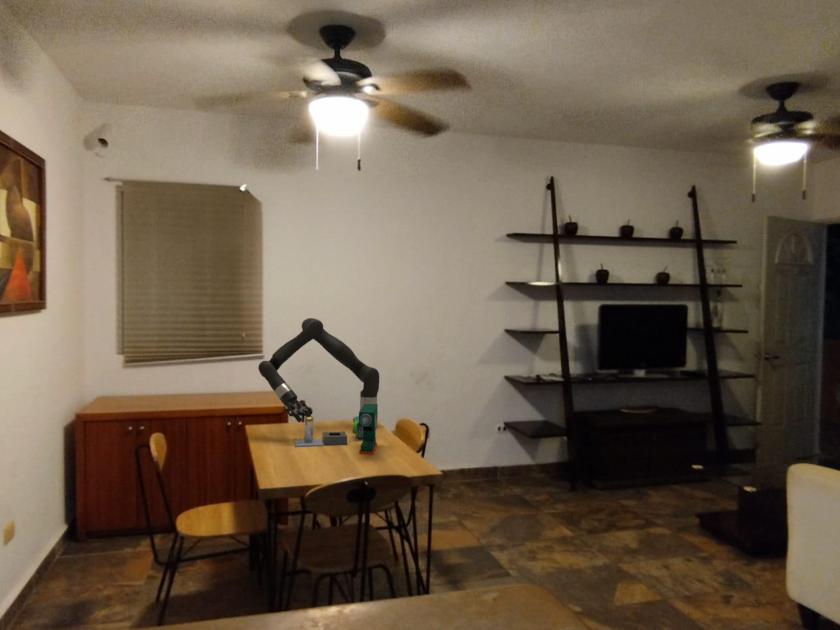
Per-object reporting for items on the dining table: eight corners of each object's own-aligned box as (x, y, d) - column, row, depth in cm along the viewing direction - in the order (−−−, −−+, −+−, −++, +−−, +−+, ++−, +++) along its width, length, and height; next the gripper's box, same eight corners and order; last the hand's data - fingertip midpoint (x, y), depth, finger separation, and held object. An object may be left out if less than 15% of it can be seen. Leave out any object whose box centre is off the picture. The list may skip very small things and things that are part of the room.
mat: (321, 439, 309) (321, 438, 309) (323, 446, 297) (323, 444, 297) (294, 440, 306) (294, 439, 306) (295, 446, 294) (295, 445, 294)
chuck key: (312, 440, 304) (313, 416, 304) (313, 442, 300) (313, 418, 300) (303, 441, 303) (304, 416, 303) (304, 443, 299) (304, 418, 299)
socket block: (344, 439, 311) (344, 431, 311) (347, 444, 300) (347, 436, 300) (322, 440, 309) (322, 432, 308) (324, 445, 298) (324, 437, 298)
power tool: (371, 462, 270) (372, 416, 269) (355, 462, 270) (356, 416, 269) (377, 444, 302) (378, 403, 301) (363, 444, 302) (364, 403, 301)
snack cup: (360, 442, 306) (361, 421, 306) (344, 438, 312) (345, 418, 312) (380, 436, 319) (381, 416, 319) (365, 433, 325) (365, 414, 325)
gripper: (282, 391, 298) (302, 417, 294) (298, 387, 311) (318, 412, 307) (272, 401, 300) (292, 427, 296) (289, 397, 313) (308, 422, 310)
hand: (305, 419), depth 302 cm, fingers open, 8 cm apart
